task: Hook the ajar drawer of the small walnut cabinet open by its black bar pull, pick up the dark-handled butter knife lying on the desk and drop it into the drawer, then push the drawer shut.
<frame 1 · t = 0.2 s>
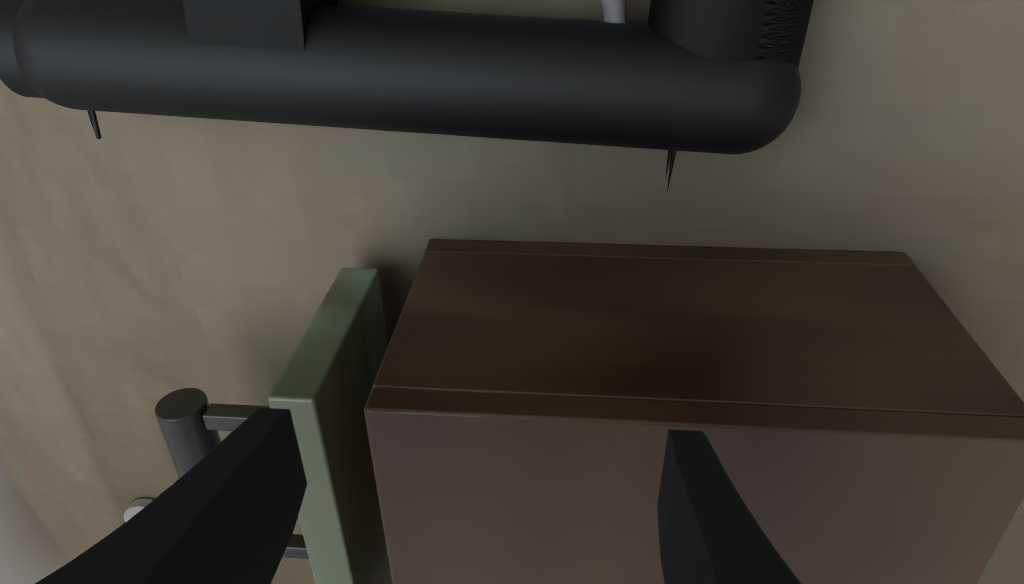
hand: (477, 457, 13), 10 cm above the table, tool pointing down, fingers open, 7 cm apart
cabinet: (641, 420, 26), on the table
drawer: (465, 497, 23), point 4 cm above the table, slide at 1.5 cm
knife: (174, 567, 33), on the table
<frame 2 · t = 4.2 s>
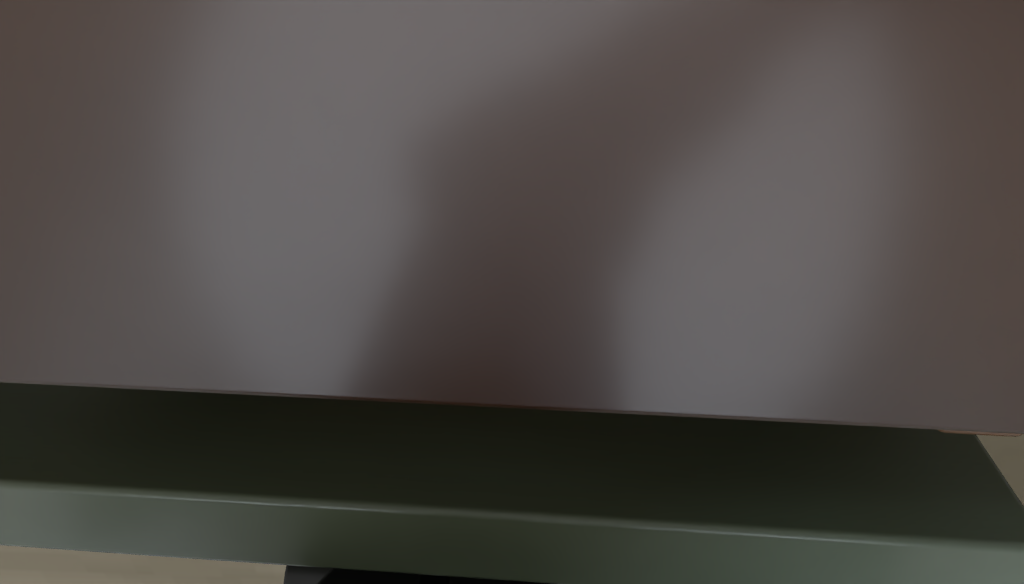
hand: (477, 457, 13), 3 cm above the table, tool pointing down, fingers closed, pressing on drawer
drawer: (447, 157, 9), point 4 cm above the table, slide at 2.3 cm, touching gripper
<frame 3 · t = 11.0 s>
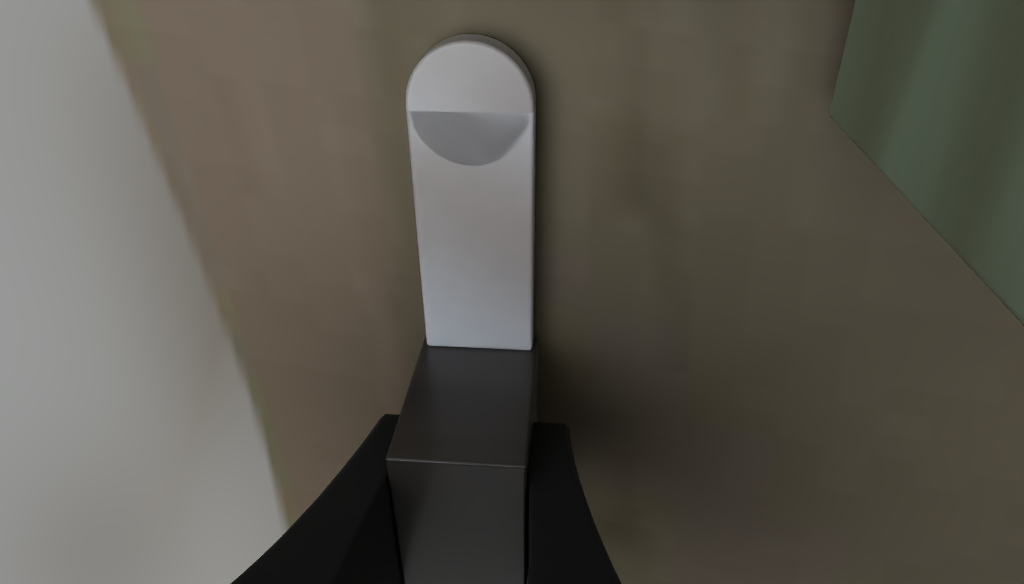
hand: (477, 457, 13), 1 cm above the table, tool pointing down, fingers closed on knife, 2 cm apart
knife: (480, 294, 13), on the table, touching gripper
when the fingers open (6 cm above the table, at t = 15.7 s): knife drops 3 cm, resting on drawer.
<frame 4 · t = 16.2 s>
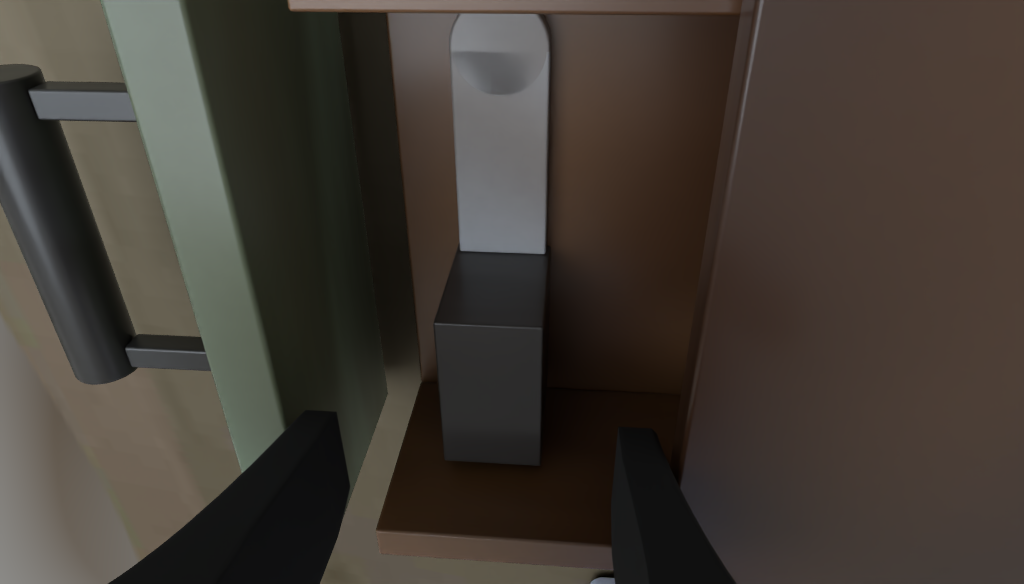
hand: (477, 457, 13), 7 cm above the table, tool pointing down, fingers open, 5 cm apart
cabinet: (955, 187, 17), on the table
drawer: (457, 251, 15), point 4 cm above the table, slide at 7.1 cm, touching knife
knife: (504, 208, 16), point 2 cm above the table, touching drawer
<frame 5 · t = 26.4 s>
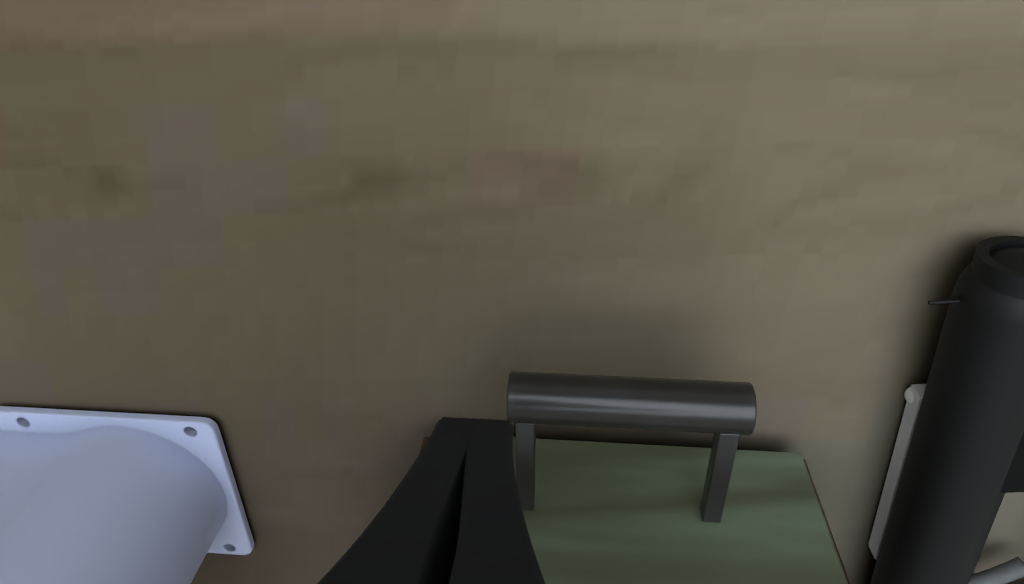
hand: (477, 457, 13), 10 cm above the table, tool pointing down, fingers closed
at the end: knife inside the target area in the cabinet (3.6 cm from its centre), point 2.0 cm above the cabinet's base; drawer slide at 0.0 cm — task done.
